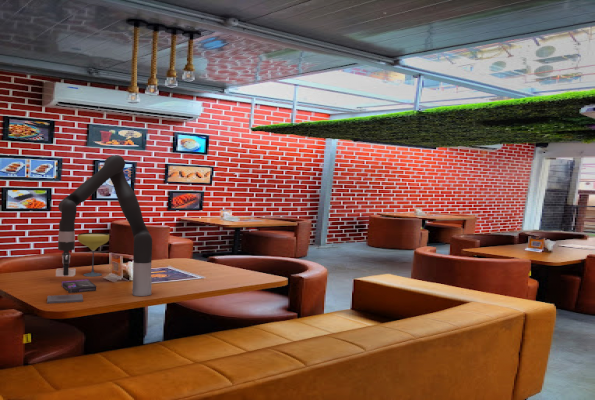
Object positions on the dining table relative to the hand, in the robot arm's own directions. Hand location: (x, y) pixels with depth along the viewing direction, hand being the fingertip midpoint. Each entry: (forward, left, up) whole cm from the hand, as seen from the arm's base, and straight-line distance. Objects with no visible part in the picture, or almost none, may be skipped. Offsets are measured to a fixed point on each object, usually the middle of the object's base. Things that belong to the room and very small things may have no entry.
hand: (65, 274), depth 263 cm
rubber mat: (0, 0, -13) cm, 13 cm away
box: (-7, -25, -13) cm, 29 cm away
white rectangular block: (0, 0, -1) cm, 1 cm away
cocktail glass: (-16, -62, -13) cm, 65 cm away
